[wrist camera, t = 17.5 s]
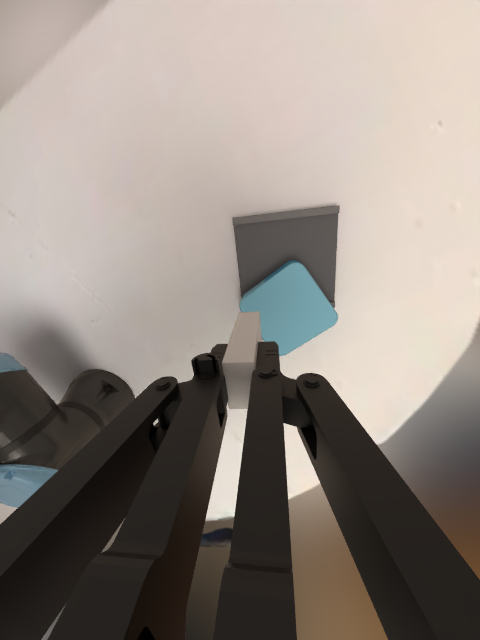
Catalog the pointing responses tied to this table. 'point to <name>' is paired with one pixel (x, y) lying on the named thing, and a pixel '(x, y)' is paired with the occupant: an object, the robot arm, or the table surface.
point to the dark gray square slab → (288, 245)
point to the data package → (289, 307)
